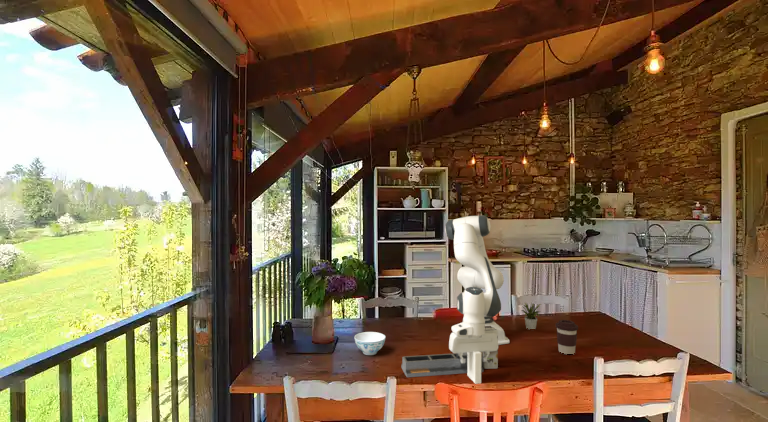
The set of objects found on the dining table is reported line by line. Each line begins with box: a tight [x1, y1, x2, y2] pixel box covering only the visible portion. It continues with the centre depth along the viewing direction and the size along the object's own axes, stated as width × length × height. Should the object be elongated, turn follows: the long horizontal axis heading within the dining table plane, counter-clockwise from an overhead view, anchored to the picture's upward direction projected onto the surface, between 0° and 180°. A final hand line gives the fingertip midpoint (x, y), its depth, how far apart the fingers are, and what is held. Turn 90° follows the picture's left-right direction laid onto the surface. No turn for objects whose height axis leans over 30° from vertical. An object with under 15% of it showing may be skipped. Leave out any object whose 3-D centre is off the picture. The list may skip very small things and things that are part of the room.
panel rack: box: [400, 352, 484, 378], centre depth 163 cm, size 34×10×14 cm, turn 100°
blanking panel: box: [466, 351, 482, 385], centre depth 154 cm, size 8×2×12 cm, turn 10°
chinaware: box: [354, 331, 386, 356], centre depth 183 cm, size 15×15×8 cm
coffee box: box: [481, 326, 499, 370], centre depth 169 cm, size 9×6×16 cm
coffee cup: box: [555, 319, 579, 355], centre depth 185 cm, size 10×10×15 cm
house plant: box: [521, 301, 542, 330], centre depth 224 cm, size 14×14×16 cm
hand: (473, 362), depth 154 cm, fingers open, 8 cm apart
